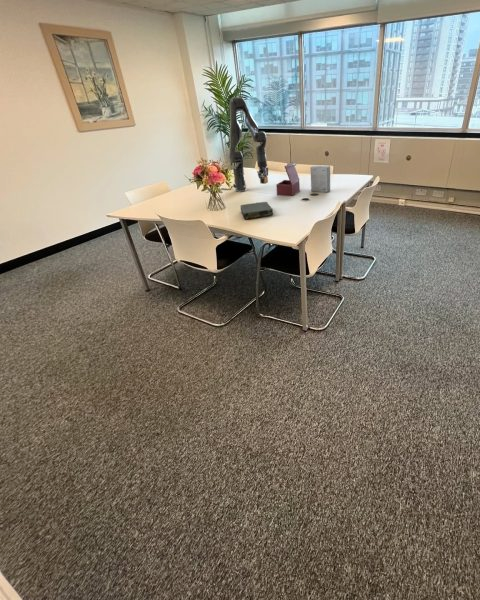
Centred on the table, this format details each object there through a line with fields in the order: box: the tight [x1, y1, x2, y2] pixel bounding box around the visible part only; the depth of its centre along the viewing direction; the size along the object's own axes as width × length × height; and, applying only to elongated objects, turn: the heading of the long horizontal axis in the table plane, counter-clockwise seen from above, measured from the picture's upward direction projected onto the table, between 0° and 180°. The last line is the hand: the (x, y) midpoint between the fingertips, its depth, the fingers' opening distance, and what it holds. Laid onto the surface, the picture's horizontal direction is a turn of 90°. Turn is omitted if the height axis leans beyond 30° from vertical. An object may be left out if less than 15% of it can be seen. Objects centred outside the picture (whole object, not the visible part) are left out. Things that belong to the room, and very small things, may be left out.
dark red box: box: [275, 179, 301, 197], centre depth 273 cm, size 15×16×9 cm
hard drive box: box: [310, 165, 331, 193], centre depth 270 cm, size 16×8×20 cm, turn 65°
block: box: [259, 176, 269, 185], centre depth 256 cm, size 5×5×5 cm
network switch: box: [240, 201, 274, 221], centre depth 233 cm, size 23×24×5 cm
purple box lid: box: [284, 161, 300, 185], centre depth 263 cm, size 15×16×6 cm
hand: (264, 182), depth 257 cm, fingers closed on block, 4 cm apart
